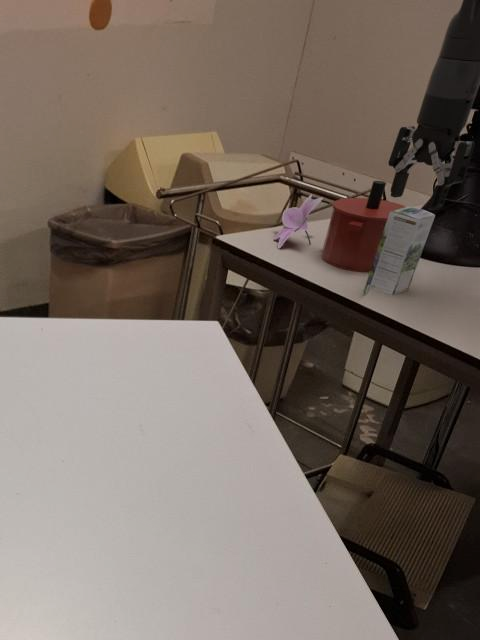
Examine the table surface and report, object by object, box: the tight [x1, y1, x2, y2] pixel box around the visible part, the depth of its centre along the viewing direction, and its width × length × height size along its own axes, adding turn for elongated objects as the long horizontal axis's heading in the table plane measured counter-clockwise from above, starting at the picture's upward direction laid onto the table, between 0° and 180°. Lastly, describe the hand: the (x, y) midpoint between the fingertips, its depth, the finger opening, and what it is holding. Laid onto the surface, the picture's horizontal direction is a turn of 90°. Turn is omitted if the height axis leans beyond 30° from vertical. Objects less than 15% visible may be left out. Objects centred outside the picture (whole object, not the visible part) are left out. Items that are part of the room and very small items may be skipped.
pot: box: [321, 208, 387, 273], centre depth 167 cm, size 14×19×10 cm
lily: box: [272, 193, 324, 250], centre depth 175 cm, size 12×12×10 cm
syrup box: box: [362, 206, 436, 296], centre depth 150 cm, size 6×6×14 cm
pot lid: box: [332, 180, 406, 221], centre depth 162 cm, size 15×15×6 cm
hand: (414, 202), depth 144 cm, fingers open, 8 cm apart
